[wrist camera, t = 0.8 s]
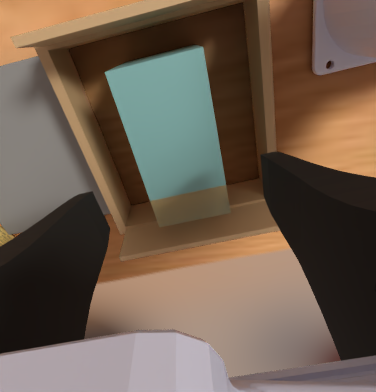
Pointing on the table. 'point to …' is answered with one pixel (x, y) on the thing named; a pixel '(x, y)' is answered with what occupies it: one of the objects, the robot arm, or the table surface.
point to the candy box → (4, 236)
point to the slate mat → (37, 149)
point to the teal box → (173, 133)
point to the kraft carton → (97, 148)
